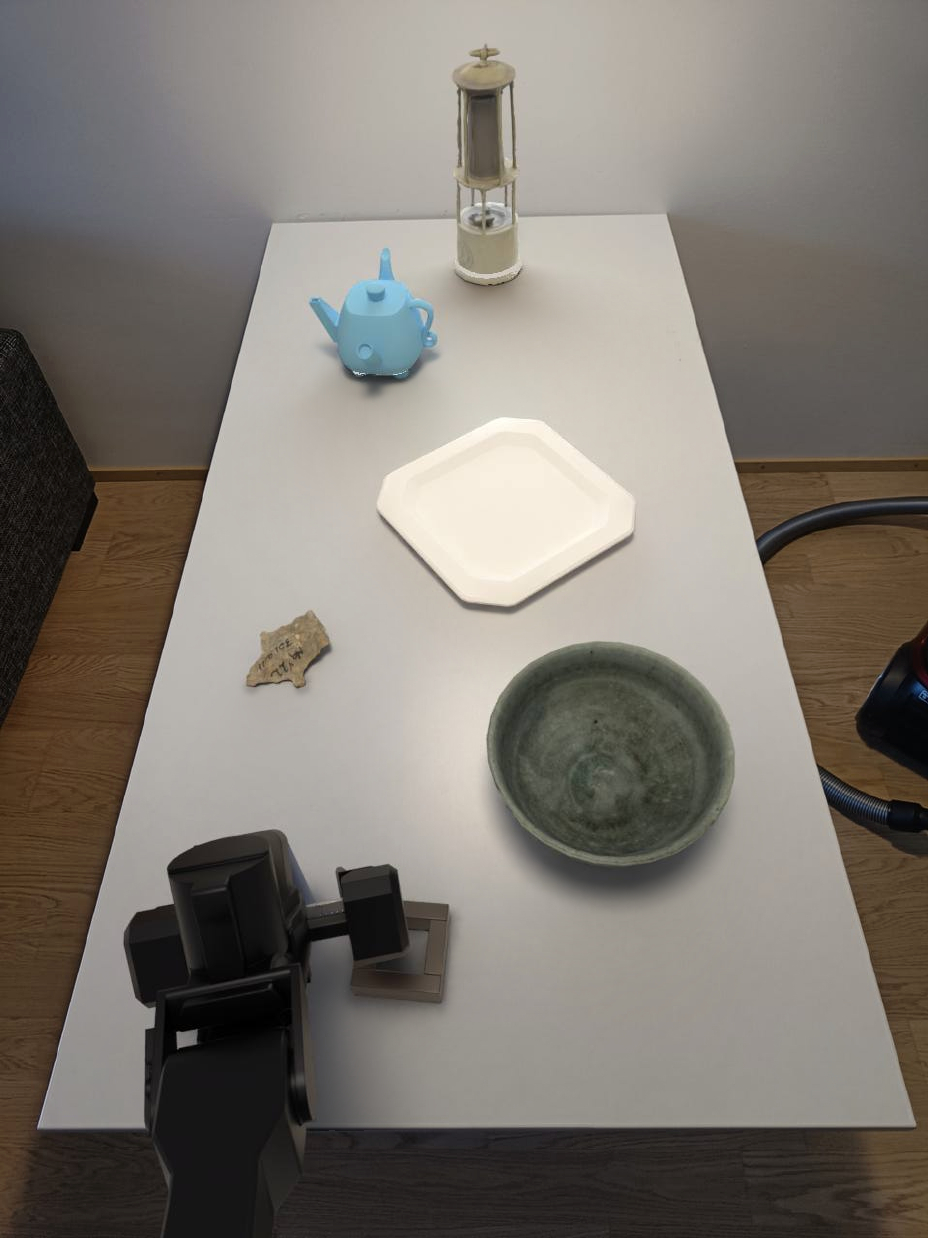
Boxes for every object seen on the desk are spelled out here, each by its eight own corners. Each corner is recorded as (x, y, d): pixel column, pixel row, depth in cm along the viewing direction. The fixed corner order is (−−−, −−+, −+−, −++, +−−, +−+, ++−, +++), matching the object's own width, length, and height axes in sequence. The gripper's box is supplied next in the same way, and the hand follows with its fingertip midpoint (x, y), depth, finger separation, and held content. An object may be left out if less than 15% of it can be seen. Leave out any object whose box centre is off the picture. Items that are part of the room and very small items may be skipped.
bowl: (736, 739, 85) (761, 683, 77) (678, 943, 74) (700, 902, 66) (533, 671, 90) (537, 612, 82) (451, 851, 79) (446, 803, 71)
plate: (522, 416, 114) (522, 403, 112) (655, 528, 102) (658, 515, 100) (360, 500, 106) (357, 487, 104) (484, 633, 93) (483, 621, 92)
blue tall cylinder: (309, 940, 75) (278, 882, 64) (273, 928, 75) (236, 869, 64) (325, 902, 76) (297, 839, 66) (289, 891, 77) (256, 827, 66)
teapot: (311, 351, 124) (297, 278, 115) (393, 316, 128) (386, 242, 119) (369, 408, 116) (358, 335, 107) (454, 368, 121) (451, 294, 112)
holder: (441, 1003, 71) (439, 993, 69) (354, 995, 72) (349, 985, 69) (450, 916, 75) (448, 903, 73) (368, 909, 76) (364, 896, 74)
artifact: (223, 657, 89) (300, 595, 91) (230, 664, 92) (305, 604, 94) (267, 711, 88) (345, 647, 90) (273, 716, 91) (348, 654, 93)
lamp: (453, 286, 132) (443, 66, 109) (456, 239, 140) (448, 24, 116) (522, 285, 132) (528, 64, 108) (521, 238, 140) (526, 22, 116)
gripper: (388, 840, 54) (382, 764, 69) (73, 899, 52) (140, 808, 67) (417, 1007, 55) (405, 897, 71) (113, 1070, 54) (169, 943, 69)
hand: (281, 883), depth 69 cm, fingers open, 9 cm apart
